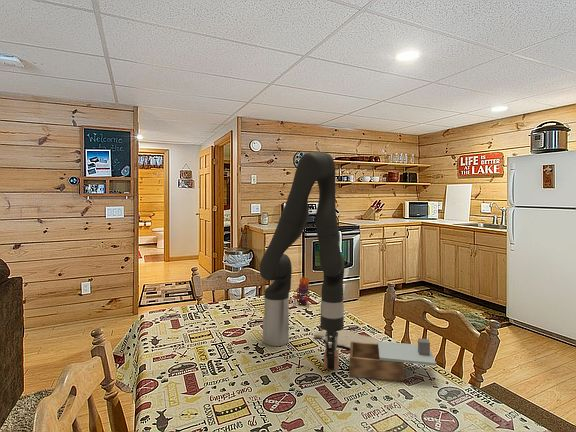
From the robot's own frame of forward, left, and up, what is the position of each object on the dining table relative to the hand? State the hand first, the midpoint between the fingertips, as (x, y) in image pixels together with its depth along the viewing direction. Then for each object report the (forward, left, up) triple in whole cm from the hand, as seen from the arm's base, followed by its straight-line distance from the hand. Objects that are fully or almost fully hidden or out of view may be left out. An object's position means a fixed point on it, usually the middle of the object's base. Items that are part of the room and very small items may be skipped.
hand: (331, 364), depth 115 cm
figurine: (-20, +58, -1) cm, 61 cm away
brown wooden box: (+14, 0, 0) cm, 14 cm away
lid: (+23, 0, +6) cm, 24 cm away
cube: (0, 0, 0) cm, 0 cm away
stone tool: (+5, +19, -1) cm, 20 cm away
